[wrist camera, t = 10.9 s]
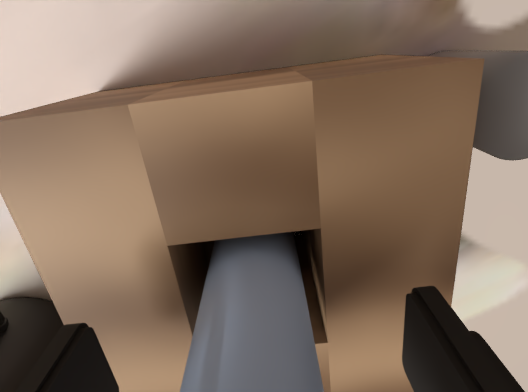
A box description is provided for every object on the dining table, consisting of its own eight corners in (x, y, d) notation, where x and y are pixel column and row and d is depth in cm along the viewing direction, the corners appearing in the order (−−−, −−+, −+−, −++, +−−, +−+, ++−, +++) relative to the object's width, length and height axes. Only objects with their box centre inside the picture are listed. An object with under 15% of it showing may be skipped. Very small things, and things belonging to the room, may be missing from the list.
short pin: (405, 56, 16) (481, 59, 11) (481, 45, 16) (598, 43, 10) (402, 129, 17) (467, 166, 12) (471, 121, 17) (570, 153, 12)
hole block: (97, 91, 16) (-33, 125, 9) (381, 54, 16) (484, 58, 9) (164, 309, 22) (118, 438, 15) (376, 287, 22) (437, 408, 14)
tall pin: (219, 177, 18) (128, 469, 6) (284, 169, 18) (343, 450, 5) (229, 233, 20) (177, 568, 7) (289, 226, 20) (348, 554, 7)
